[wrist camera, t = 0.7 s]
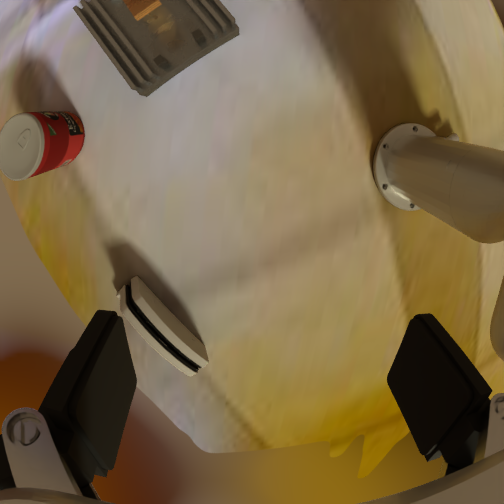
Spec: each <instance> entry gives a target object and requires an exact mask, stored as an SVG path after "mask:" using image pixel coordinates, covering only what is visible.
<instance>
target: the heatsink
mask: <svg viewBox="0 0 504 504" xmlns="http://www.w3.org/2000/svg"><path fill="white" fill-rule="evenodd" d="M159 1H160V2H161V5H160V6H158V7H157V8H155V9H154V10H153V11H151V12H150V13H148V14H147V15H145V16H144V17H143V18H141V19H140V20H138V21H137V20H136V19H135V18H134V16H133V15H132V13H131V12H130V10H129V9H128V7H127V6H126V4H125V3H124V1H123V0H91V2H89V3H88V2H87V1H85V0H82V1H80V2H81V4H82V5H83V6H84V8H82V9H81V8H79V7H77V6H75V7H74V8H73V9H74V10H75V12H76V13H77V15H78V16H79V17H80V19H81V20H82V21H83V23H84V24H85V26H86V27H87V28H88V30H89V31H90V32H91V34H92V35H93V37H94V38H95V39H96V41H97V42H98V43H99V45H100V46H101V48H102V49H103V50H104V52H105V53H106V54H107V56H108V57H109V59H110V60H111V61H112V63H113V64H114V65H115V67H116V68H117V70H118V71H119V72H120V74H121V75H122V76H123V78H124V79H125V80H126V82H127V83H128V85H129V86H130V87H131V89H133V90H136V91H137V92H138V93H139V95H142V96H146V97H147V96H149V95H150V94H151V93H153V92H154V91H155V90H156V89H158V88H159V87H160V86H162V85H163V84H164V83H166V82H167V81H168V80H170V79H171V78H173V77H174V76H175V75H177V74H178V73H180V72H181V71H182V70H184V69H185V68H187V67H188V66H190V65H191V64H193V63H194V62H196V61H197V60H199V59H200V58H202V57H203V56H205V55H206V54H208V53H210V52H211V51H213V50H214V49H216V48H218V47H219V46H221V45H223V44H224V43H226V42H228V41H229V40H231V39H233V38H234V37H236V36H238V35H239V27H238V26H237V25H236V24H235V18H234V17H233V16H232V15H231V13H230V12H229V11H228V10H227V9H226V8H225V6H224V5H223V4H222V3H221V2H220V1H219V0H159Z"/></svg>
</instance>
